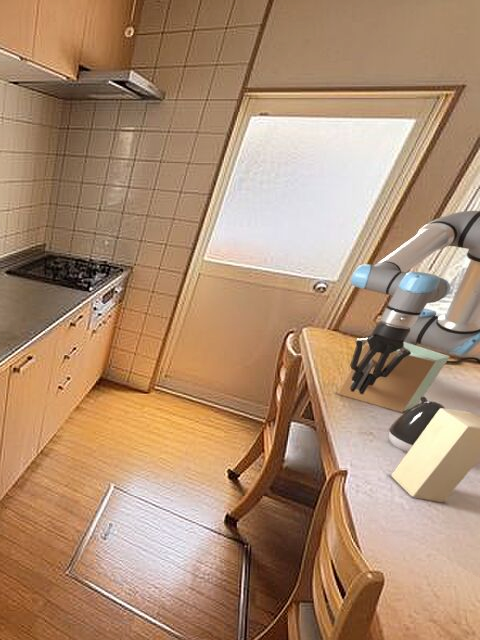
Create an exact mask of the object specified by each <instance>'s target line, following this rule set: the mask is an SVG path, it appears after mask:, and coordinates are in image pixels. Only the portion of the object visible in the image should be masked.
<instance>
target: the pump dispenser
mask: <svg viewBox="0 0 480 640" xmlns="http://www.w3.org/2000/svg"><path fill="white" fill-rule="evenodd" d="M420 399H421V401H420V402H419V404H418V405H416V406H414V407H412V408H411V409H408V410H406V411H404V413H402V415H400V416H398V418H397V419H396V420H395V421H394V422H393V423H392V424H391V425H390V427H389V428H388V439H389V441H390V442H391V444H392V445H393V446H394V447H396V448H397V449H399V450H401V451H402V452H405V453H408V452H409V450H410V449H411V447H412V446H413V445H414V443H415V442H416V441H417V439H418V438H419V436H420V435H421V434H422V432H423V431H424V430H425V428H426V427H427V425H428V424H429V423H430V421H431V420H432V419H433V417H434V416H435V414H436V413H437V412H438V410H439V409H440V408H444V409H446V407H445V406H444V405H443V404H441V403H440V402H437V401H431V400H429V401H428V399H427V398H426V396H423V397H421V398H420Z"/></svg>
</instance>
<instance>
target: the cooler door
mask: <svg viewBox="0 0 480 640" xmlns="http://www.w3.org/2000/svg"><path fill="white" fill-rule="evenodd" d="M369 349H370V347H369V345H368V344H365V345H364V346H362V351H361V354H360V357H359V361H358V364H357V366H358V365H359V364H360V362H361V361H362V359H363V358H364V356H365V355H366V354H367V352H368V350H369ZM397 354H398V352H395V351H394V352H392V353H390V355H389V357H388V358H387V360H386V362H385V364H384V366H383V369H384V368H385V367H386V366H387V365H388V364H389V363H390V362H391V360H392V359H393V358H394V357H395V356H396V355H397ZM380 355H381V353H379V352H377V353H376V354H375V355H374V356H373V357H372V359H371V360H370V361H369V363H368V364H367V366H366V367H365V368H364V370H363V371H362V372H363V374H364V375H363V377H362V379H361V380H360V382H359V384H358V386H357V387H356V389H355V391H354V392H352V391H351V390H350V387H351V385H352V383H353V382H354V381H352V376H353V374H354V372H355V370H353V369H351V368H350V370H349V372H348V374H347V376H346V377H345V379H344V381H343V383H342V384H341V386H340V388H339V390H338V392H337V395H340V396H343V397H347V398H350V399H355V400H357V401H361V402H364V403H368V404H372V405H375V406H378V407H382V408H386V409H389V410H393V411H396V412H400V413H403V412H404V411H403V410H404V409H405V407H406V406H407V404H408V403H409V401H410V400H411V398H412V397H413V395H414V394H415V392H416V390H417V389H418V387H419V386H420V384H421V383H422V381H423V380H424V378H425V377H426V375H427V374H428V372H429V371H430V369H431V368H432V366H433V365H434V363H435V361H434V360H429V359H425V358H421V357H416V356H412V355H408V356H406V357H405V358H403V359H402V361H401V362H400V363H399V364H398V365H397V366H396V367H395V368H394V369H393V371H392V372H391V373H390V374H389V375H388V376H387V377H379V378H377V379H376V381H375V383H374V384H373V385H372V386H371V385H368V387H367V388H366V390H365V392H364V394H360V392H359V390H360V388H361V387H362V385H363V383H364V381H365V380H366V378H367V376H368V374H369V373H370V374H373V371H374V369H375V366H376V364H377V362H378V360H379V358H380ZM383 369H382V371H383ZM382 371H381V372H382Z"/></svg>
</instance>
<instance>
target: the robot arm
mask: <svg viewBox="0 0 480 640" xmlns="http://www.w3.org/2000/svg"><path fill="white" fill-rule="evenodd" d="M447 247H456V248H461V249H466V250H467V249H468V251H467V253H466V257H467V259H468V260H470V261H469V263H468V266H467V268H466V270H465V272H464V274H463V276H462V278H461V280H460V283H459V285H458V287H457V288H456V289H457V290H456V292H455V293H454V296H453V298H452V301H451V302H450V304H449V307H448V309H447V311H446V312H445V313H442V314H440V315H439V316H438V315H437V311H435V310H433V309H428V308H425V307H426V306H427V304H433V303H436V302H438V301H441V300H443V299H445V298H446V297H447V296H448V295H449V293H450V291H451V284H450V282H449V281H448V280H447V279H445V278H443V277H439V276H438V275H436V274H432V273H429V272H420V271H410V270H411V269H413V268H414V267H416V266H418V265H419V264H420V263H421V262H423V261H424V260H425V259H427V258H428V257H429V256H431V255H432V254H434V253H435V252H436V251H439V250H443V249H445V248H447ZM350 283H351V286H352V287H355V288H358V289H362V290H364V291H365V290H367V291H370V292H375V293H378V294H382V295H387V296H391V299H390V300H389V302H388V305H387V306H386V308H385V309H384V311H383V313H382V314H381V316H380V318H379V320H380V321H378V322H377V323H376V325H375V327H374V329H373V330H372V333H371V334H369V335H368V336H367V337H365V338H364V337H363V338H359V337H357V338H355V344H356V345H355V349H354V352H353V354H352V358H351V361H350V364H349V366H350V370H351V369H353V370H355V372H354V374H353V376H352V381H354V382H353V383H352V385H351V387H350V390H351V391H352V392H354V391H355V389H356V387H357V386H358V384H359V382H360V380H361V379H362V377H363V375H364V374H363V372H362V371H363V370H364V368H365V367H366V366H367V364H368V363H369V361H370V360H371V359H372V357H373V356H374V355H375V354H376V353H377V352H379V353H381V355H380V358H379V360H378V362H377V364H376V366H375V369H374V371H373V374H370V373H369V374H368V376H367V378H366V380H365V381H364V383H363V385H362V387H361V388H360V390H359V392H360V394H364V392H365V390H366V388H367V387H368V385H371V386H372V385H373V384H374V383H375V381H376V379H377V378H379V377H387V376H388V375H389V374H390V373H391V372H392V371H393V369H394V368H395V367H396V366H397V365H398V364H399V363H400V362H401V361H402V359H403V358H405V357H406V356H408V355H410V354H411V352H410V351H409V349H406V348H405V347H404V342H406V343H409V344H413V345H416V346H418V344H419V345H422V346H425V347H427V348H431V349H435V350H438V351H442V352H444V353H446V354H451V355H456V356H459V358H457V360H447V362H446V363H445V364H459V363H461V361H463V360H464V361H467V360H474V361H477V363H480V358H479V357H474V356H467V355H468V354H469V353H470V352H472V351H473V350H474V349H475V348H476V347H477V346H478V345H479V344H480V210H465V211H459V212H454V213H450V214H447V215H443V216H440V217H438V218H435V219H433V220H431V221H429V222H428V223H426V224H425V225H423V226H421V227H420V229H418V231H417V232H416V233H415V236H413V237H412V238H410V239H409V240H408V241H406V242H404V243H403V244H402V245H401V246H400V247H398V248H397V249H396V250H394V251H393V252H391V253H390V254H388V255H387V256H386V257H384V258H383V259H381V260H380V261H378V262H376V264H374V265H373V264H366V263H365V264H361V265H358V267H357V268H356V269H355V270H354V271H353V273H352V275H351V278H350ZM366 343H367V345H368V344H369V347H370V349H369V350H368V352H367V354H366V355H365V356H364V358H363V359H362V361H361V362H360V364H359V365H358V366H357V364H358V361H359V357H360V354H361V351H362V348H363V347H364V345H366ZM399 349H400V350H399ZM397 350H399V351H398V354H397V355H396V356H395V357H394V358H393V359H392V360H391V362H390V363H389V364H388V365H387V366H386V367H385V368H384V369H383V366H384V364H385V362H386V360H387V358H388V357H389V355H390V353H392V352H394V351H397ZM463 356H465V357H463ZM466 356H467V357H466ZM382 369H383V371H382ZM381 371H382V372H381Z"/></svg>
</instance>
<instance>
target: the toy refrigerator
mask: <svg viewBox="0 0 480 640" xmlns="http://www.w3.org/2000/svg"><path fill="white" fill-rule="evenodd" d="M479 460H480V417H479V416H477V415H476V414H474V413H472V412H470V411H463V410H457V409H450V408H445V409H444V408H440V409H439V410H438V412H437V413H436V414H435V416H434V417H433V419H432V420H431V421H430V423H429V424H428V425H427V427H426V428H425V430H424V431H423V432H422V434H421V435H420V436H419V438H418V439H417V441H416V442H415V443H414V445H413V446H412V447H411V449H410V450H409V452H406V454H405V456H404V457H403V458H402V460H401V461H400V462H399V464H398V465H397V466H396V468H395V469H394V470H393V472H392V473H391V475H390V477H392V479H393V480H394V481H395V482H396V483H398V485H400V486H401V487H402V488H403V490H405V491H406V492H407V493H408V495H410V496H411V497H412V498H414V499H421V500H427V501H433V502H438V503H444V502H445V501H446V500H447V498H448V497H450V495H451V494H452V493H453V491H454V490H455V489H456V488H457V486H458V485H459V484H460V483H461V482H462V481H463V480H464V478H465V477H466V476H467V475H468V473H469V472H470V471H471V470H472V468H474V466H475V465H476V464H477V462H478V461H479Z"/></svg>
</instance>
